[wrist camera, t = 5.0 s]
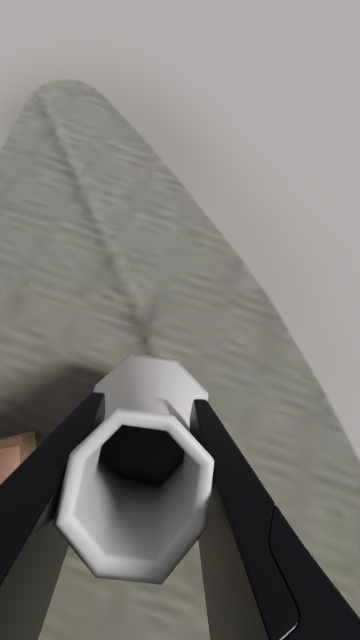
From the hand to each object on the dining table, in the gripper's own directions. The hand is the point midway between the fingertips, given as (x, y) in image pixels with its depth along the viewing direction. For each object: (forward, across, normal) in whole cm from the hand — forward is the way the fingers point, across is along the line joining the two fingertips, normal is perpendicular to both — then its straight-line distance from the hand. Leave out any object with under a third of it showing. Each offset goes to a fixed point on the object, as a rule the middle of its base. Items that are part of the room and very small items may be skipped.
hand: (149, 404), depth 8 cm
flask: (+4, 0, +6) cm, 8 cm away
